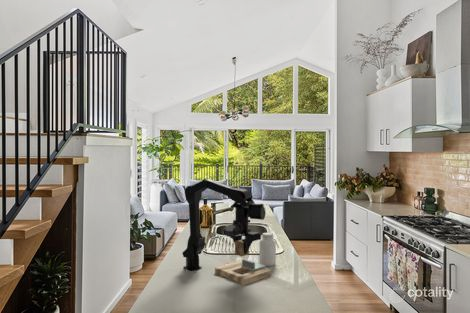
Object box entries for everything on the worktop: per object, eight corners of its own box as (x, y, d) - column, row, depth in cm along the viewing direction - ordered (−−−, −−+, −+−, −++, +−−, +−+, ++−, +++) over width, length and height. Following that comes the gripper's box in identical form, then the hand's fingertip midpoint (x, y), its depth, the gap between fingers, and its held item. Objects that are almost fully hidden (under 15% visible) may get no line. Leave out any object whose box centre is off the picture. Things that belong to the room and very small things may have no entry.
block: (234, 254, 162) (234, 240, 162) (242, 252, 165) (242, 239, 165) (241, 256, 159) (241, 242, 159) (248, 254, 162) (248, 241, 162)
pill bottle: (276, 262, 182) (276, 232, 182) (274, 267, 174) (274, 236, 174) (261, 260, 184) (261, 231, 184) (258, 265, 176) (258, 235, 176)
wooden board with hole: (214, 272, 167) (214, 267, 167) (240, 264, 178) (240, 260, 178) (244, 284, 152) (244, 278, 152) (270, 275, 163) (270, 270, 163)
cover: (240, 266, 167) (240, 259, 167) (253, 262, 172) (253, 255, 172) (253, 270, 161) (253, 263, 161) (265, 266, 167) (265, 259, 166)
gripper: (214, 217, 163) (214, 251, 164) (243, 223, 149) (243, 261, 150) (233, 214, 171) (233, 247, 171) (261, 220, 157) (261, 255, 157)
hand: (241, 252), depth 162 cm, fingers closed on block, 4 cm apart
